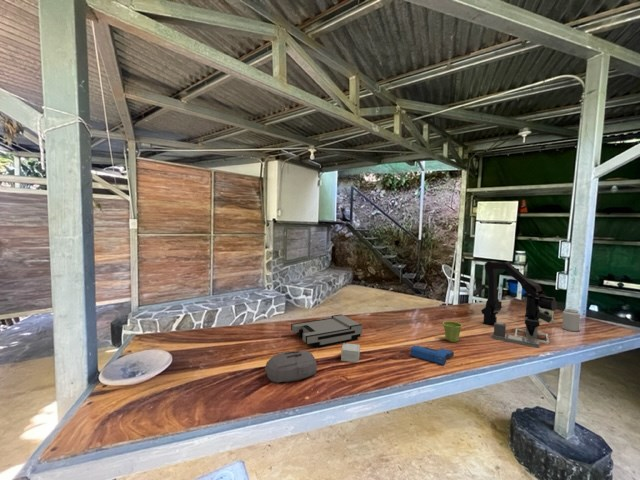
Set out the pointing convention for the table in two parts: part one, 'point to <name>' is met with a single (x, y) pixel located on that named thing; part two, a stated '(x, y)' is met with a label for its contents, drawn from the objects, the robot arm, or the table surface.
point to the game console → (328, 331)
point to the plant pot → (452, 330)
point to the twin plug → (499, 329)
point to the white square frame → (532, 338)
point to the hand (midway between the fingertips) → (531, 333)
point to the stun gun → (431, 354)
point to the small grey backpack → (291, 366)
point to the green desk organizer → (549, 314)
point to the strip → (518, 340)
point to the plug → (533, 334)
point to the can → (571, 320)
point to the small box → (350, 352)
